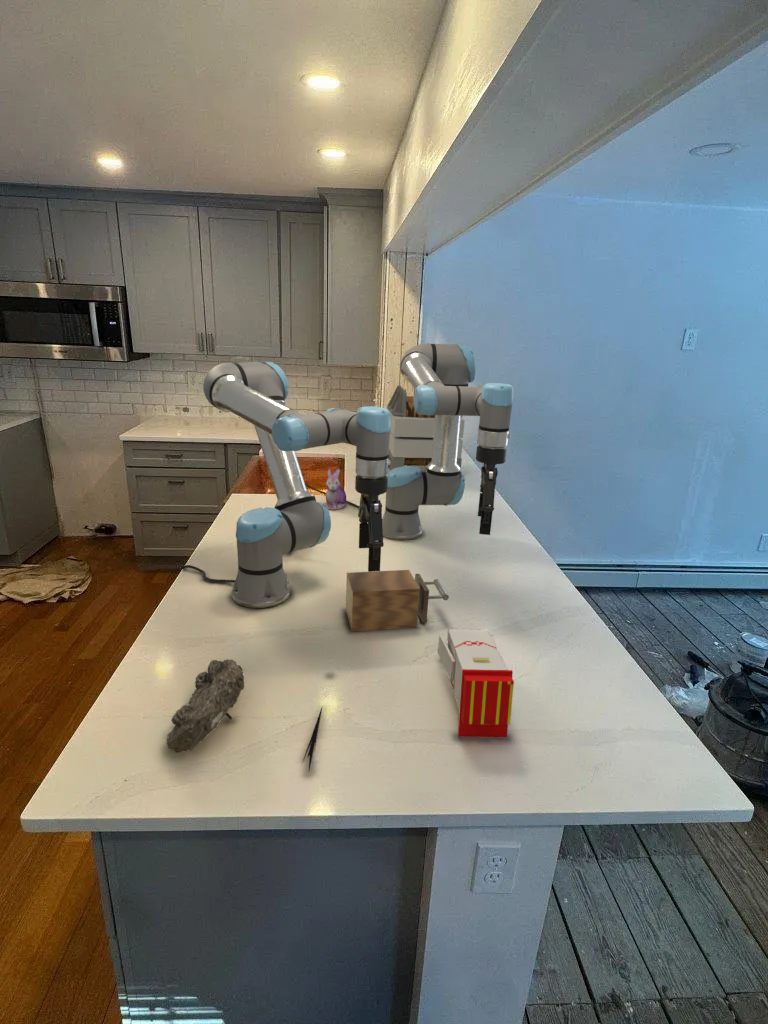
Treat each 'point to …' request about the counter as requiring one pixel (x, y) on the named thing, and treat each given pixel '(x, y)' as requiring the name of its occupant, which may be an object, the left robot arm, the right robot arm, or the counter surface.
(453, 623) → the counter surface
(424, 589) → the drawer
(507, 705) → the toy
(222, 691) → the fossil
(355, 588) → the cabinet
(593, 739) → the counter surface
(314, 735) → the feather
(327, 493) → the figurine
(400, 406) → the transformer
